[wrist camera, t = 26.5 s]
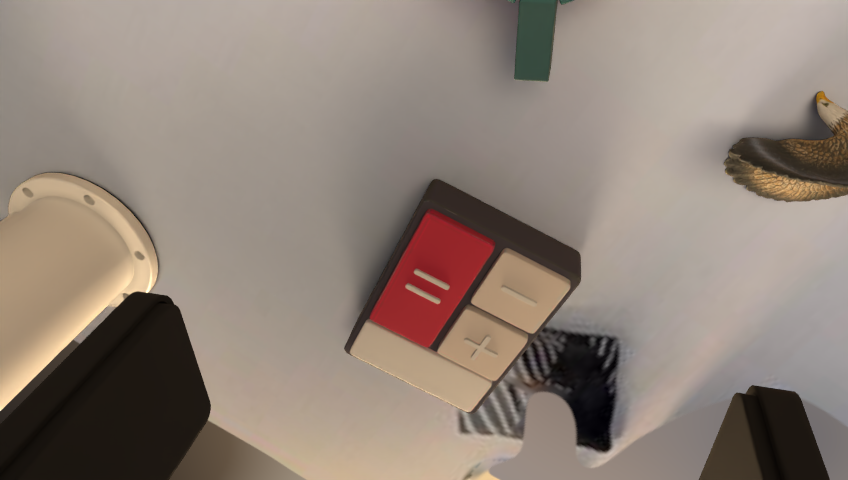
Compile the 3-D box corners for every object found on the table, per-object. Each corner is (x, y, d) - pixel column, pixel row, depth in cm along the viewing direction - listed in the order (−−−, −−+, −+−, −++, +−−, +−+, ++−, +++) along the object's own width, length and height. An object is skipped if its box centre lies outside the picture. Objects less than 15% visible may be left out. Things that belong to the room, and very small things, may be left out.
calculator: (584, 286, 36) (471, 424, 44) (583, 248, 39) (479, 382, 48) (421, 202, 35) (338, 358, 43) (435, 171, 39) (356, 321, 47)
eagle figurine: (905, 8, 27) (704, 110, 29) (1027, 123, 23) (784, 228, 26) (883, 103, 33) (719, 180, 35) (977, 206, 29) (785, 283, 32)
